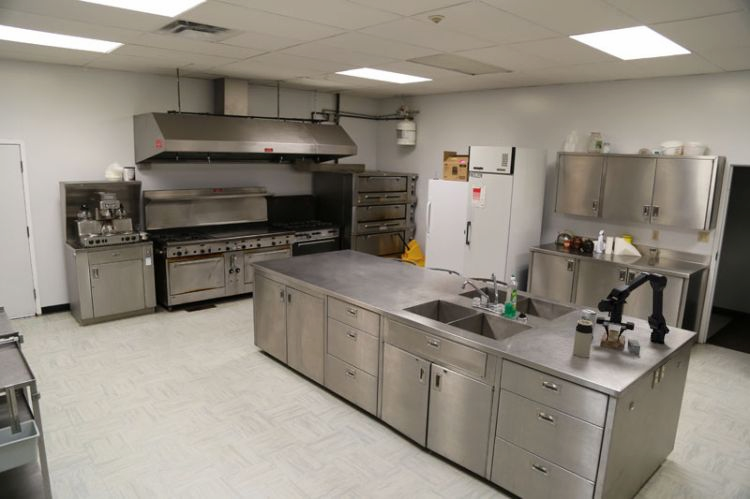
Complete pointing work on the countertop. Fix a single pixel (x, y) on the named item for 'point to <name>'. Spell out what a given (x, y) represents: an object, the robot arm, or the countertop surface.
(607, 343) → the socket block
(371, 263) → the countertop surface
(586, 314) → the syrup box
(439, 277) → the countertop surface
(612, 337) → the square bit
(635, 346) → the grey rectangular block
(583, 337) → the travel mug
